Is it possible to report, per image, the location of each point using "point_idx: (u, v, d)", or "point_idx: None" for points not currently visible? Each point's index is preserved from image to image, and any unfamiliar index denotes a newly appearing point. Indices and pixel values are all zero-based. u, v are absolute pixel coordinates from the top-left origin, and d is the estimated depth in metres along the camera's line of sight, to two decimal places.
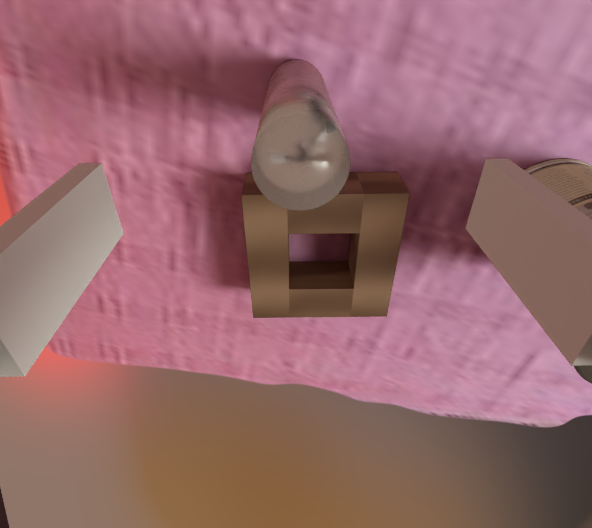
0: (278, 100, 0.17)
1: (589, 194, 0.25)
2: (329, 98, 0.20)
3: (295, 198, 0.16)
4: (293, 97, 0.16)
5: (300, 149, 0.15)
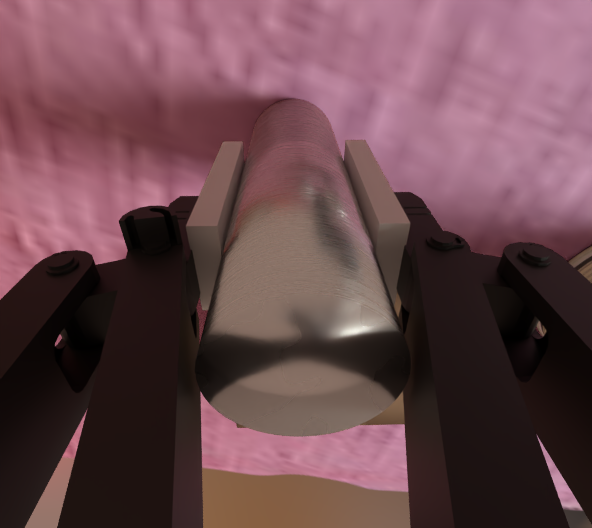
0: (258, 212, 0.09)
1: None
2: (348, 179, 0.12)
3: (292, 422, 0.08)
4: (287, 212, 0.08)
5: (302, 352, 0.07)
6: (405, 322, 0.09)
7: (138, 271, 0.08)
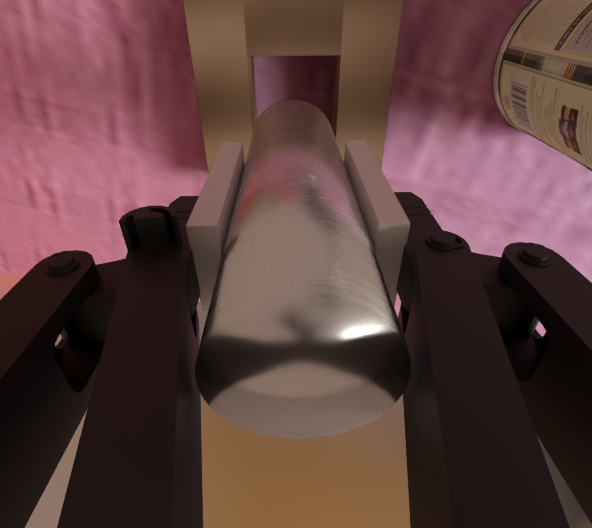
0: (258, 213, 0.09)
1: None
2: (348, 180, 0.12)
3: (292, 424, 0.08)
4: (287, 214, 0.08)
5: (302, 354, 0.07)
6: (405, 322, 0.09)
7: (138, 271, 0.08)
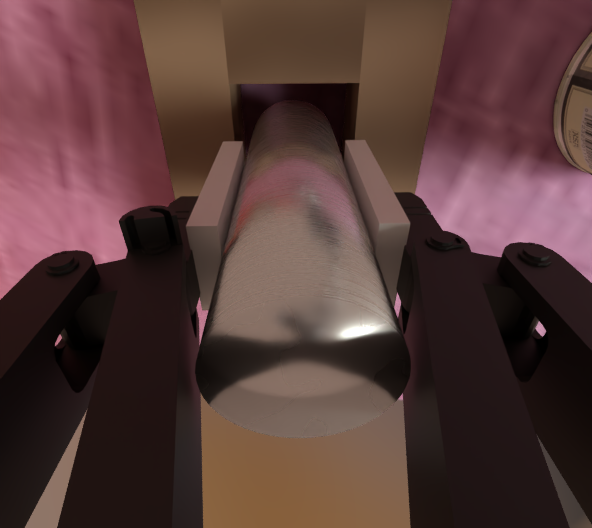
0: (258, 213, 0.09)
1: None
2: (348, 180, 0.12)
3: (292, 423, 0.08)
4: (287, 214, 0.08)
5: (302, 354, 0.07)
6: (405, 322, 0.09)
7: (138, 271, 0.08)
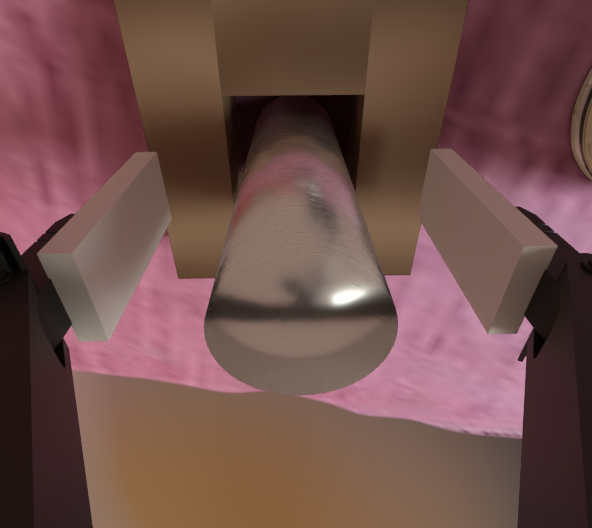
0: (261, 191, 0.09)
1: None
2: (345, 166, 0.13)
3: (291, 380, 0.09)
4: (287, 191, 0.09)
5: (300, 311, 0.07)
6: (536, 347, 0.09)
7: None
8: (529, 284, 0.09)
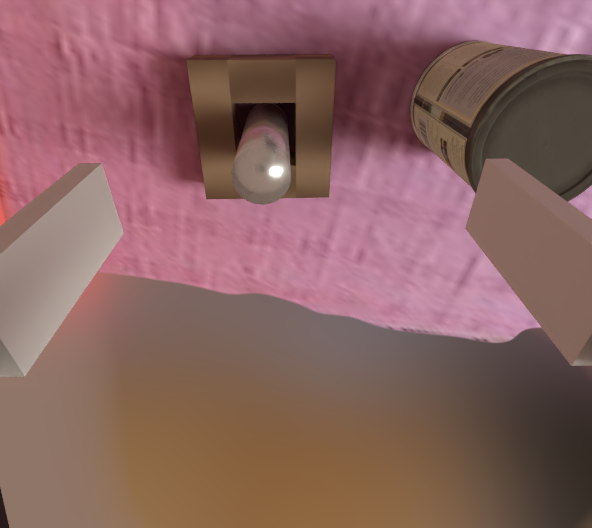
0: (248, 136, 0.27)
1: (488, 51, 0.29)
2: (284, 132, 0.30)
3: (259, 196, 0.26)
4: (257, 135, 0.26)
5: (260, 166, 0.25)
6: None
7: None
8: None
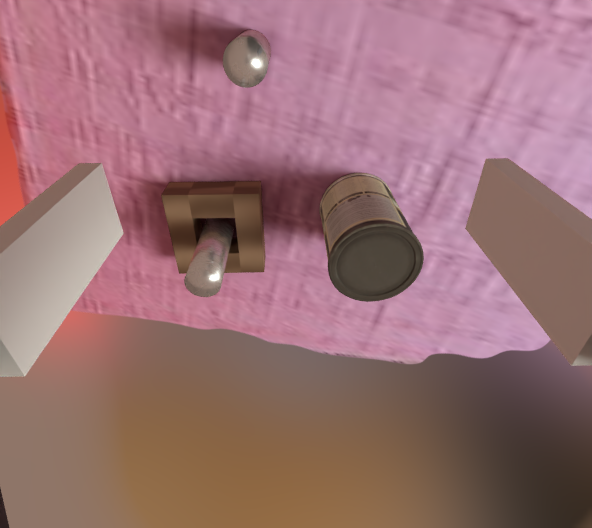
0: (197, 253, 0.43)
1: (353, 194, 0.45)
2: (224, 242, 0.47)
3: (202, 293, 0.43)
4: (202, 254, 0.43)
5: (201, 278, 0.41)
6: None
7: None
8: None
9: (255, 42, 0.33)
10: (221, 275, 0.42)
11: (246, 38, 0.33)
